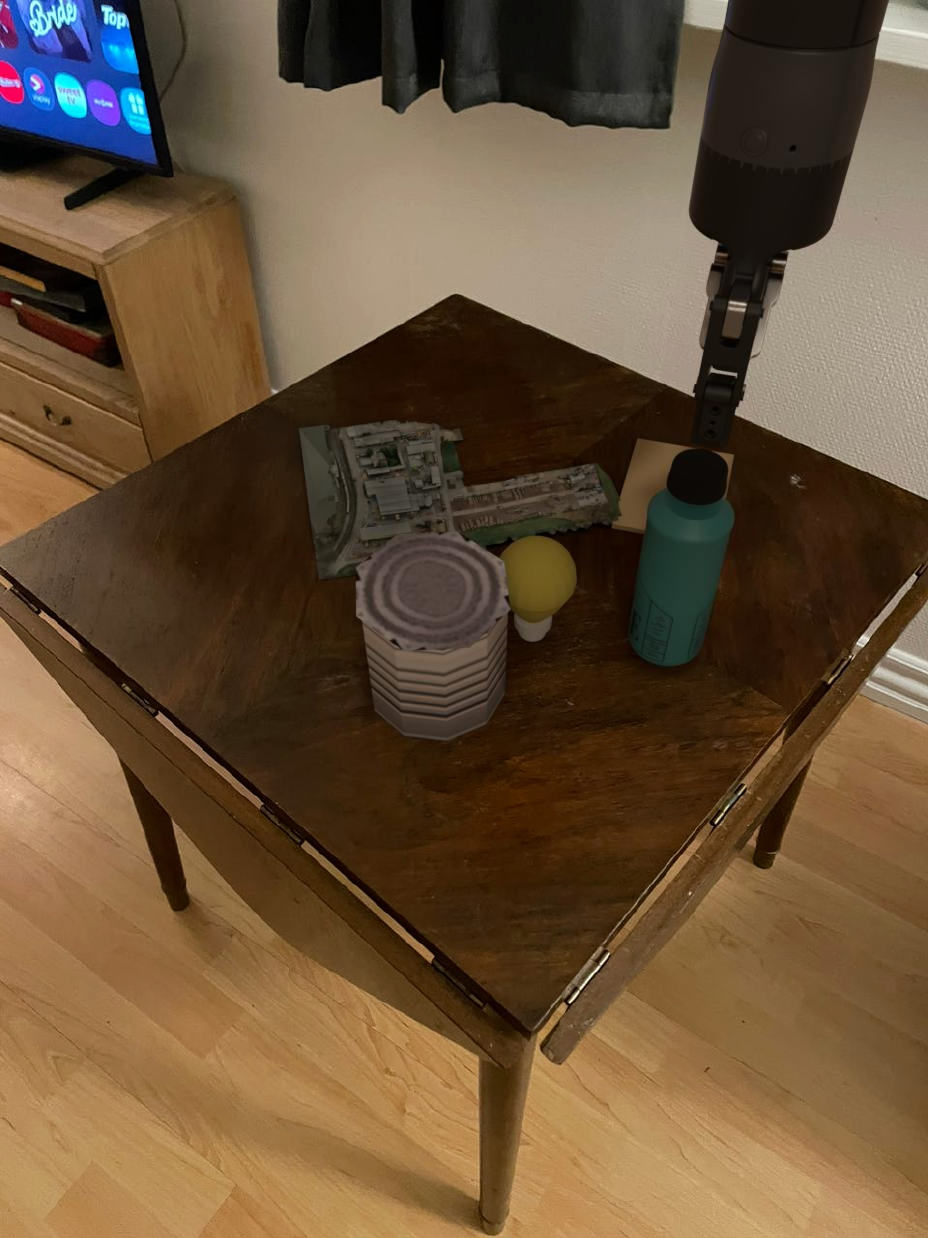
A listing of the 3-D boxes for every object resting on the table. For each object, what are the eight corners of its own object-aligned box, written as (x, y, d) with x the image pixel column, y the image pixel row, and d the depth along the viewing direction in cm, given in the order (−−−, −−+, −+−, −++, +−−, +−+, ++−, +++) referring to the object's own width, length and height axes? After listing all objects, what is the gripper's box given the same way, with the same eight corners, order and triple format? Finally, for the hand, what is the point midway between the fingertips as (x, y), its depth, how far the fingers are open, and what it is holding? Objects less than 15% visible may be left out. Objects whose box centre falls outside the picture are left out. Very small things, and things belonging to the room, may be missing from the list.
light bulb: (515, 671, 77) (519, 587, 70) (480, 618, 82) (480, 533, 74) (585, 644, 79) (596, 560, 72) (547, 594, 83) (554, 509, 76)
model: (635, 529, 88) (636, 516, 87) (319, 580, 85) (316, 567, 84) (574, 401, 102) (574, 389, 101) (301, 441, 99) (299, 428, 98)
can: (493, 626, 81) (494, 522, 72) (519, 731, 73) (524, 630, 64) (362, 642, 80) (347, 539, 71) (374, 751, 72) (360, 651, 63)
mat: (733, 459, 96) (734, 454, 96) (716, 548, 87) (717, 543, 87) (636, 442, 98) (637, 437, 98) (611, 528, 89) (611, 523, 89)
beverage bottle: (715, 665, 78) (771, 477, 63) (646, 690, 76) (686, 502, 61) (674, 613, 82) (717, 424, 67) (607, 635, 80) (636, 447, 65)
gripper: (848, 198, 41) (766, 485, 53) (862, 89, 50) (790, 355, 62) (679, 179, 43) (636, 461, 55) (722, 76, 52) (677, 337, 64)
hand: (718, 404), depth 58 cm, fingers open, 8 cm apart
